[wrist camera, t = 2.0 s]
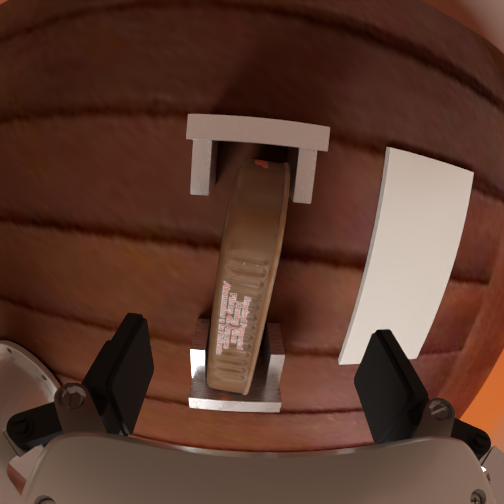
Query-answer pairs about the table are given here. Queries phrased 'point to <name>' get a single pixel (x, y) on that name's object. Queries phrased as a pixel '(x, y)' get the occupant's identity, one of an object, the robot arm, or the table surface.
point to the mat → (409, 251)
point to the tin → (246, 272)
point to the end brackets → (301, 186)
